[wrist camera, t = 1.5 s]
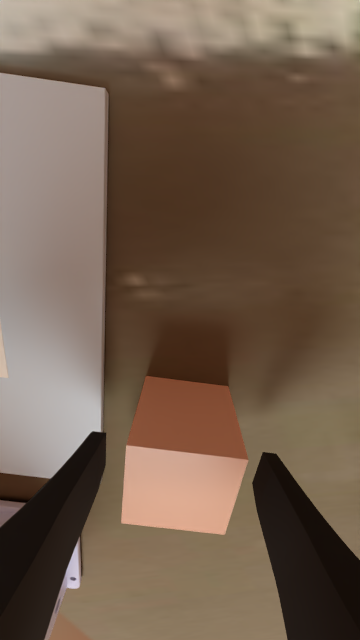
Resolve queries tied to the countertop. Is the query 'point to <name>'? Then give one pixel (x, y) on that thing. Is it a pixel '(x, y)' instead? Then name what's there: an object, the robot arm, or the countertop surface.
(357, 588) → the robot arm
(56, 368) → the light grey flat board
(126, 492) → the top cube
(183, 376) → the countertop surface
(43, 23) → the countertop surface
